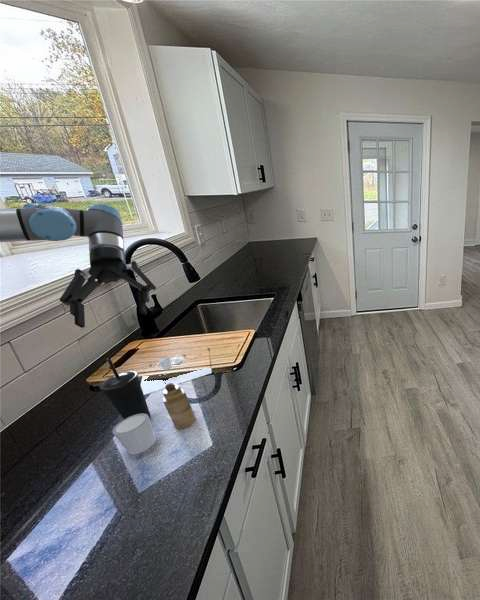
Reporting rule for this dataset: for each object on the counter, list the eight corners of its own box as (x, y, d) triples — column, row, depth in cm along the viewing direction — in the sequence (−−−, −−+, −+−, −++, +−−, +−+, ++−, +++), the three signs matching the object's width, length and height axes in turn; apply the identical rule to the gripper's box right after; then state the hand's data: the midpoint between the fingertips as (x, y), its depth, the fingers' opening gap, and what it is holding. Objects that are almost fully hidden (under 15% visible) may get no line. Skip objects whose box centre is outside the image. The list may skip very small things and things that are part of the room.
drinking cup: (154, 406, 90) (126, 347, 82) (159, 419, 85) (129, 357, 77) (120, 421, 85) (87, 359, 77) (123, 436, 80) (88, 372, 72)
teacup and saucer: (185, 359, 112) (181, 349, 111) (184, 370, 106) (180, 360, 105) (155, 368, 108) (151, 358, 107) (153, 379, 102) (148, 369, 100)
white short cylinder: (144, 456, 74) (133, 434, 71) (116, 457, 74) (104, 435, 71) (165, 433, 80) (155, 412, 77) (139, 434, 80) (128, 413, 77)
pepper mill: (172, 423, 83) (155, 385, 78) (192, 413, 86) (177, 375, 81) (177, 432, 80) (159, 392, 75) (198, 421, 83) (182, 382, 78)
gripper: (163, 252, 98) (172, 313, 92) (59, 267, 89) (61, 336, 82) (153, 238, 92) (162, 302, 85) (40, 253, 82) (40, 326, 76)
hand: (112, 319), depth 84 cm, fingers open, 13 cm apart
